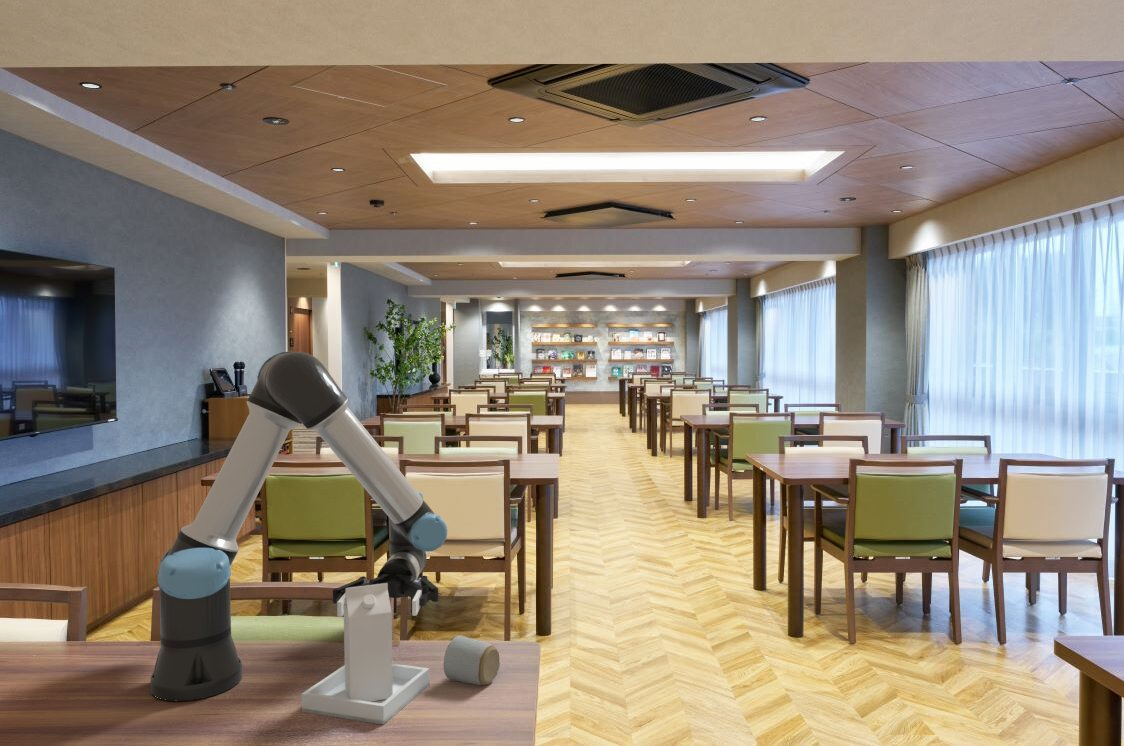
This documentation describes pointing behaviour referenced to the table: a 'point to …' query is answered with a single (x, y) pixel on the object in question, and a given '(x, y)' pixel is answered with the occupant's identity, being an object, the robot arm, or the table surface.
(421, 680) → the tray
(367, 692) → the milk carton
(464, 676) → the ceramic mug
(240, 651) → the table surface
